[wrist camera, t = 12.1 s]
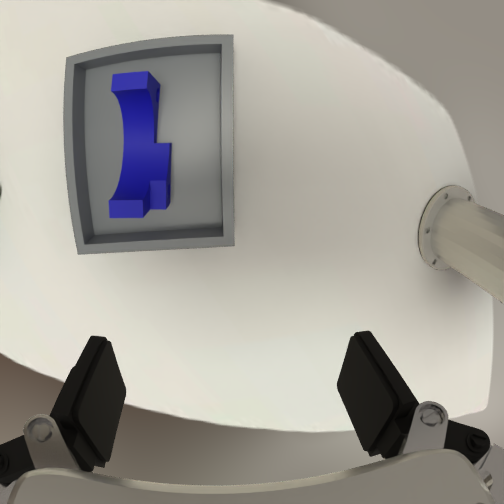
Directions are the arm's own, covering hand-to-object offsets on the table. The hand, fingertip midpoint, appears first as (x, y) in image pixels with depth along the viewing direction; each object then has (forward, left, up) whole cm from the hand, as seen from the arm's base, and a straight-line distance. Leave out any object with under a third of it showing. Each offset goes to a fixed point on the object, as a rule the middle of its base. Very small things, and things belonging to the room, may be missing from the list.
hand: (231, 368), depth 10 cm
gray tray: (+6, -8, -22) cm, 24 cm away
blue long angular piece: (+6, -8, -21) cm, 23 cm away
